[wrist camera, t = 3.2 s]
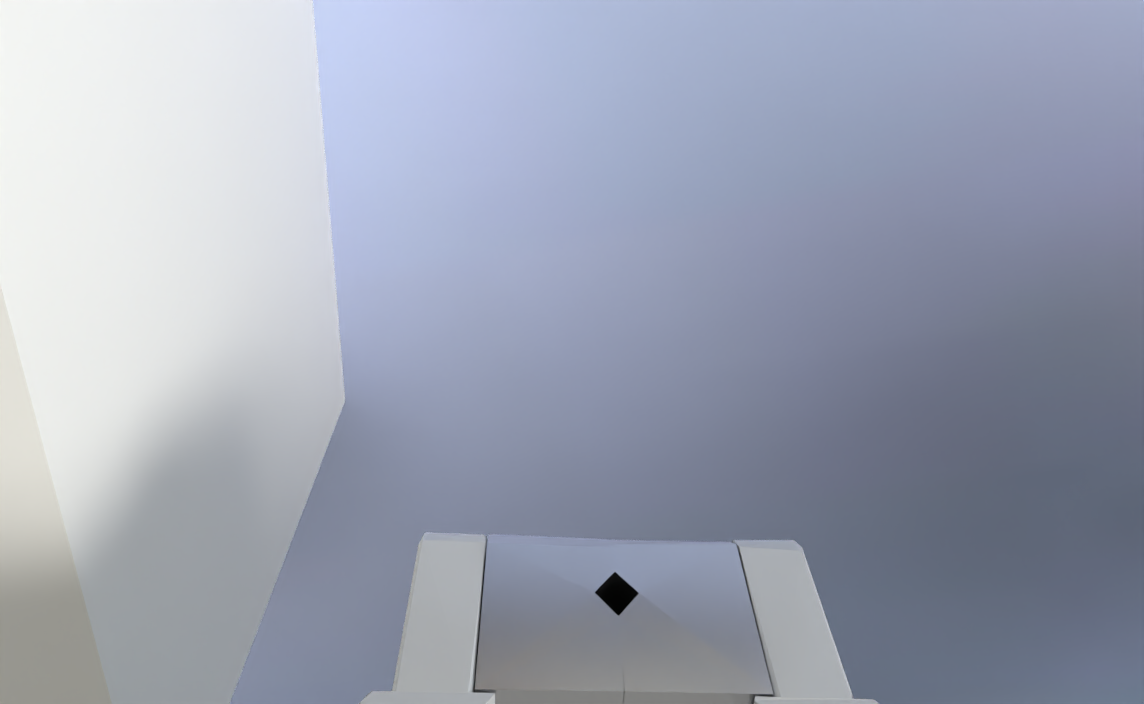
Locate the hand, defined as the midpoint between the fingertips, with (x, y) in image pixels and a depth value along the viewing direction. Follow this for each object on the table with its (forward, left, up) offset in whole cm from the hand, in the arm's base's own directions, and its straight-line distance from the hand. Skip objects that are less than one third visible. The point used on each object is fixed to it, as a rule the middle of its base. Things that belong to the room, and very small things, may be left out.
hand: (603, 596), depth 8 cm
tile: (+6, 0, -11) cm, 12 cm away
